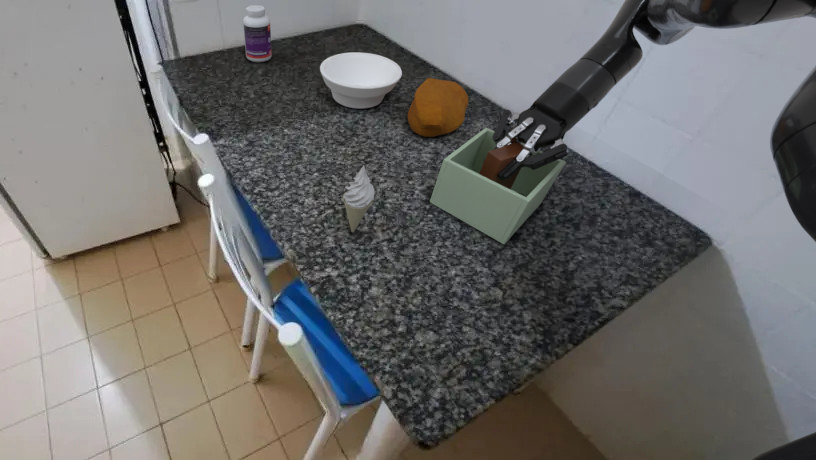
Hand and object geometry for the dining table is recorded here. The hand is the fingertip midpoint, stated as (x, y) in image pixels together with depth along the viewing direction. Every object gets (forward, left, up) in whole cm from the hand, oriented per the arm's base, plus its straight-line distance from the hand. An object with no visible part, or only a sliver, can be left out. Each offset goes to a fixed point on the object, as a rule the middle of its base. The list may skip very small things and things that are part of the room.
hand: (492, 172), depth 71 cm
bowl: (+44, -16, -8) cm, 48 cm away
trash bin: (-1, -2, -8) cm, 9 cm away
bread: (+22, -21, -8) cm, 32 cm away
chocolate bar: (-1, -2, -7) cm, 7 cm away
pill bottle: (+82, -13, -8) cm, 84 cm away
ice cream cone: (+12, +23, -8) cm, 28 cm away
